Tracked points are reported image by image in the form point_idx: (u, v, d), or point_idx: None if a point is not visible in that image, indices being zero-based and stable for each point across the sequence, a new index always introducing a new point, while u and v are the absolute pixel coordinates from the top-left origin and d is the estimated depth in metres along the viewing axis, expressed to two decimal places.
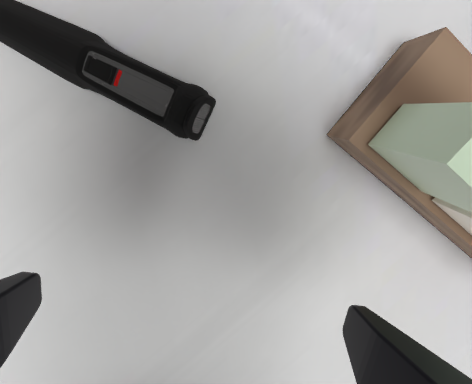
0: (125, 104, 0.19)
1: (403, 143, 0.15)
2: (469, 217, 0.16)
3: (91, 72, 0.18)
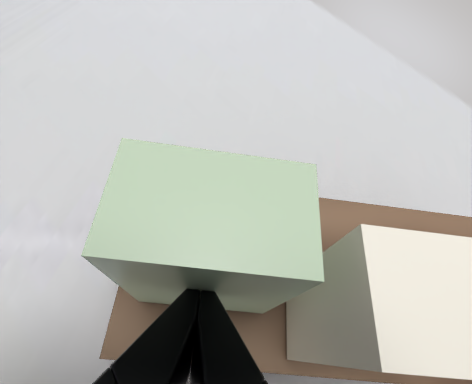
0: None
1: None
2: None
3: None
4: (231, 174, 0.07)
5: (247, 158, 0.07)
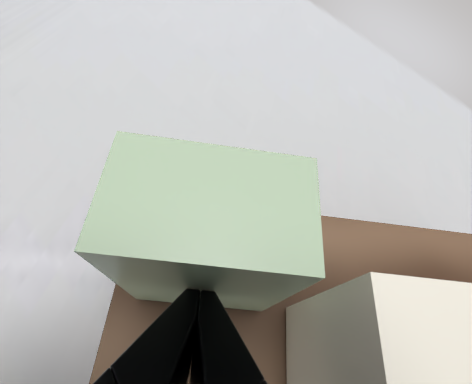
0: None
1: None
2: None
3: None
4: (229, 168, 0.07)
5: (246, 152, 0.07)
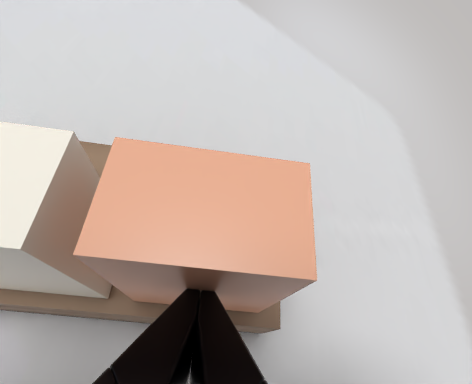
0: None
1: None
2: None
3: None
4: None
5: None
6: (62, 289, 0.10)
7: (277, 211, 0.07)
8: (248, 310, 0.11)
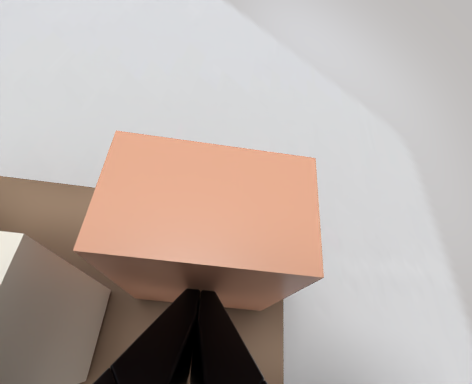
0: None
1: None
2: None
3: None
4: None
5: None
6: None
7: (282, 207, 0.07)
8: (251, 308, 0.11)
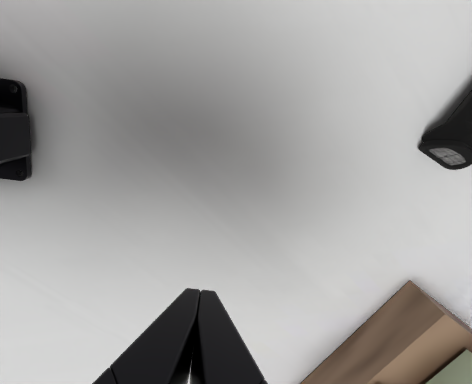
0: None
1: None
2: None
3: None
4: None
5: None
6: None
7: None
8: None
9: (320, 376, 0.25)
